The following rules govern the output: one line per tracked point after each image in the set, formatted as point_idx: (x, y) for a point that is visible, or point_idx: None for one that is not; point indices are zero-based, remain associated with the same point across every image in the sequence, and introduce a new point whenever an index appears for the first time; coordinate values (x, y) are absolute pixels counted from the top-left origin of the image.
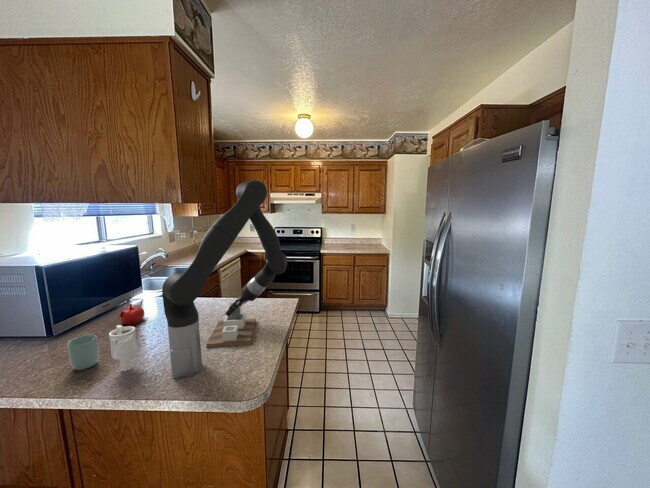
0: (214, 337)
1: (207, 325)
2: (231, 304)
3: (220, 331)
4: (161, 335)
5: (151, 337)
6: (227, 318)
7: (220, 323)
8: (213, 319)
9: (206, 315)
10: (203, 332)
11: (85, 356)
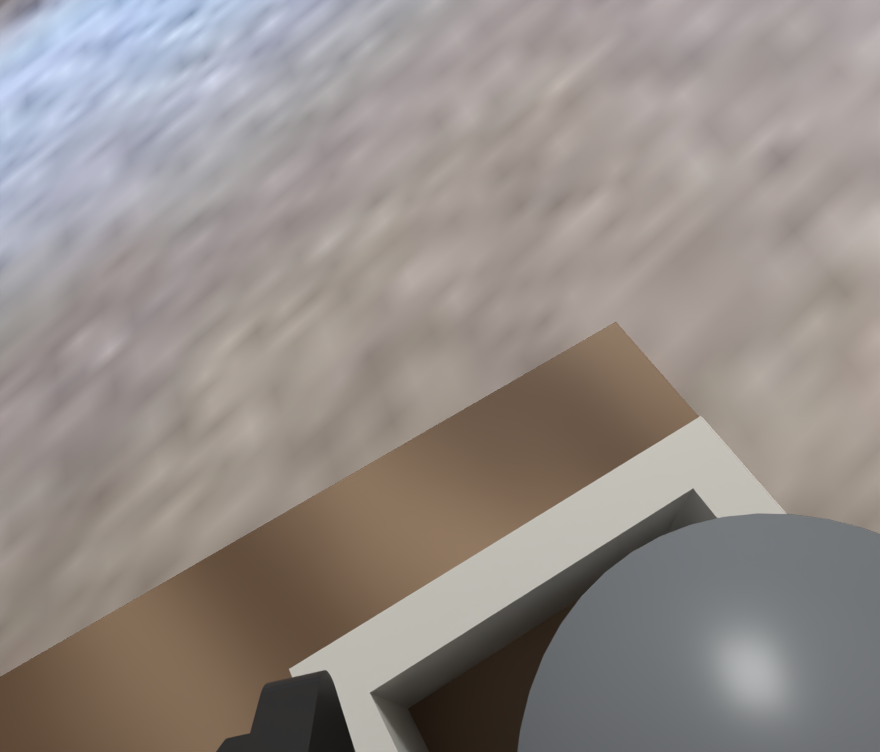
0: (31, 749)
1: (495, 240)
2: (670, 647)
3: (270, 670)
4: (125, 48)
5: (75, 18)
6: (509, 607)
7: (551, 412)
8: (690, 167)
9: (733, 16)
10: (292, 356)
11: None
